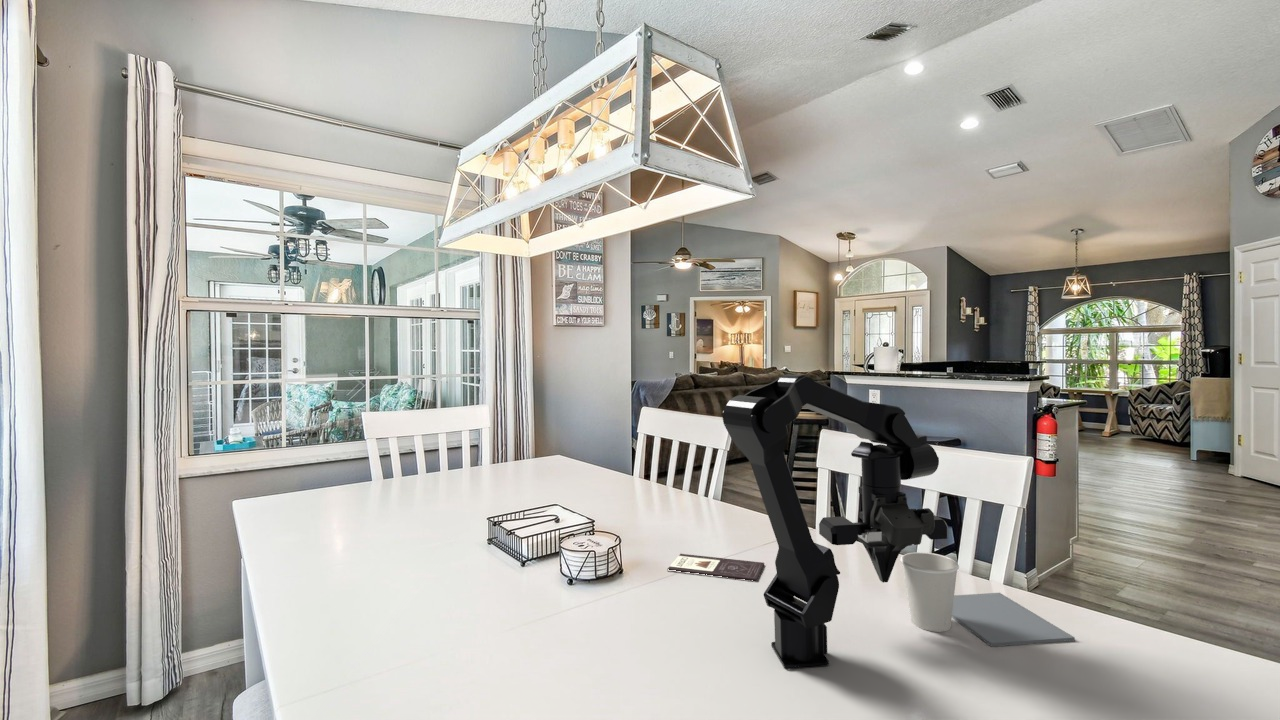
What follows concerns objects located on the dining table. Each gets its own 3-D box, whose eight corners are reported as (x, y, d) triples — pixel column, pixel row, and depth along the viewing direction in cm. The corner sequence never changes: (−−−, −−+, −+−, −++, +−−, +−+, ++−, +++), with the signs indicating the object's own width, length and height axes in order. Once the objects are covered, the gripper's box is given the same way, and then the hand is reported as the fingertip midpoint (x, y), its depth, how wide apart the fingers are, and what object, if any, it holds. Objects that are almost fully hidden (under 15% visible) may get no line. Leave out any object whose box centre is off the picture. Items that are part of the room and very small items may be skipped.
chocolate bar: (756, 579, 110) (667, 568, 117) (756, 584, 110) (667, 573, 117) (764, 562, 119) (680, 553, 125) (764, 567, 119) (680, 558, 125)
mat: (991, 646, 85) (991, 643, 85) (928, 599, 100) (928, 597, 100) (1074, 640, 85) (1074, 637, 85) (999, 595, 101) (999, 592, 101)
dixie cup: (971, 626, 91) (970, 563, 91) (940, 641, 86) (938, 575, 86) (921, 606, 98) (920, 548, 98) (890, 619, 94) (889, 558, 93)
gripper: (846, 499, 83) (849, 607, 83) (970, 493, 84) (972, 599, 84) (816, 482, 94) (819, 577, 94) (926, 476, 95) (928, 570, 95)
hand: (883, 581), depth 92 cm, fingers closed
